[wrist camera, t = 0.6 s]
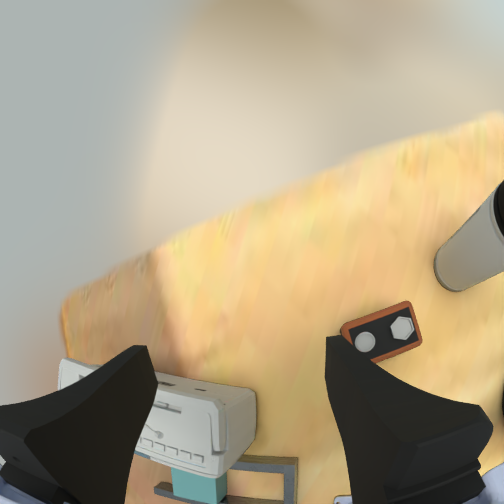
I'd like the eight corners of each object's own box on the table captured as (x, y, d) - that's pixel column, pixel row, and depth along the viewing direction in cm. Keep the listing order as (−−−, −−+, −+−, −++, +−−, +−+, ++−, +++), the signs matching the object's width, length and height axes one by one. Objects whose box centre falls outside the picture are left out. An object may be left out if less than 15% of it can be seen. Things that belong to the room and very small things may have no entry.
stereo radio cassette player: (121, 408, 37) (11, 424, 19) (123, 356, 40) (9, 351, 21) (257, 443, 32) (181, 522, 13) (263, 382, 34) (184, 422, 15)
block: (227, 492, 30) (216, 504, 27) (187, 484, 32) (173, 495, 28) (226, 462, 32) (215, 473, 28) (185, 456, 33) (170, 465, 30)
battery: (403, 343, 31) (427, 344, 21) (349, 363, 32) (354, 372, 23) (392, 308, 32) (413, 296, 23) (338, 327, 33) (340, 324, 24)
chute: (297, 457, 30) (294, 465, 27) (296, 507, 27) (293, 517, 25) (158, 441, 35) (149, 446, 32) (163, 487, 32) (154, 493, 30)
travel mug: (481, 284, 29) (580, 232, 11) (439, 297, 31) (531, 250, 12) (469, 238, 31) (549, 155, 13) (427, 248, 33) (497, 161, 14)
